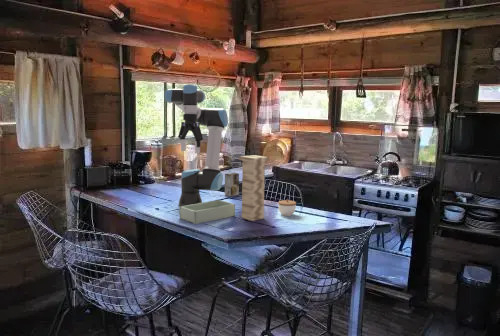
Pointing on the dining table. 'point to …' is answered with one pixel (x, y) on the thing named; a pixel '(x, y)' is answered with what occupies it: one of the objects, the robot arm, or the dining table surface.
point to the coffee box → (232, 184)
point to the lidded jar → (287, 207)
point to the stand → (253, 186)
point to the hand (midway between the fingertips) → (190, 152)
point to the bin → (207, 211)
